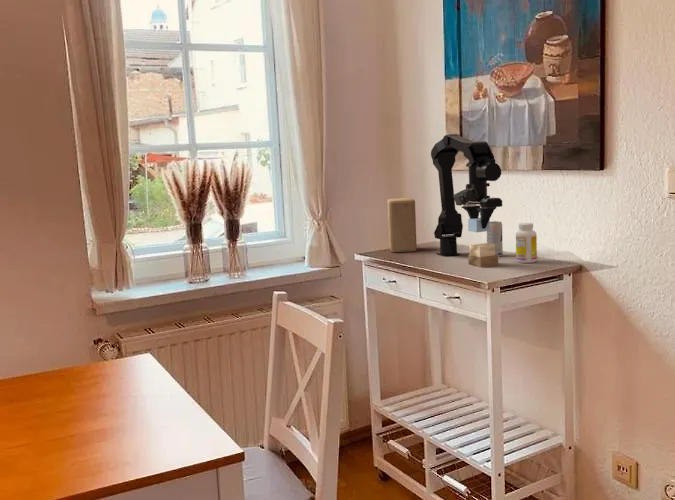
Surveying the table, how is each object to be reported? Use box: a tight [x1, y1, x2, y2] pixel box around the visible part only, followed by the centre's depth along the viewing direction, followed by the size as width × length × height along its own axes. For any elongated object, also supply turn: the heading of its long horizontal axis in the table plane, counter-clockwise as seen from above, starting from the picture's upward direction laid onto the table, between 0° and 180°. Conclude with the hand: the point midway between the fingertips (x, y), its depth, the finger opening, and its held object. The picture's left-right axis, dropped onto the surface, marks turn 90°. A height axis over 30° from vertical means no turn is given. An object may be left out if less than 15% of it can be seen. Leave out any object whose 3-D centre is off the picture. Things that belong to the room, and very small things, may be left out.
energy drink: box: [486, 220, 504, 258], centre depth 241 cm, size 5×5×12 cm
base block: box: [467, 254, 499, 268], centre depth 227 cm, size 7×7×4 cm
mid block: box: [468, 242, 495, 257], centre depth 227 cm, size 6×6×4 cm
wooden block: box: [386, 197, 418, 253], centre depth 263 cm, size 10×10×20 cm
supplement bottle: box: [515, 222, 538, 264], centre depth 227 cm, size 7×7×13 cm
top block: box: [467, 217, 491, 233], centre depth 225 cm, size 5×5×4 cm
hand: (479, 227), depth 225 cm, fingers closed on top block, 5 cm apart
